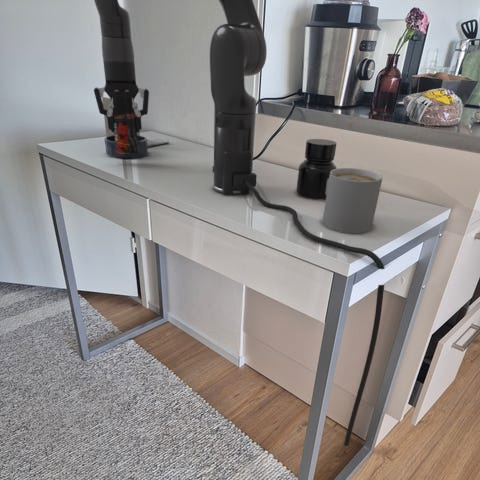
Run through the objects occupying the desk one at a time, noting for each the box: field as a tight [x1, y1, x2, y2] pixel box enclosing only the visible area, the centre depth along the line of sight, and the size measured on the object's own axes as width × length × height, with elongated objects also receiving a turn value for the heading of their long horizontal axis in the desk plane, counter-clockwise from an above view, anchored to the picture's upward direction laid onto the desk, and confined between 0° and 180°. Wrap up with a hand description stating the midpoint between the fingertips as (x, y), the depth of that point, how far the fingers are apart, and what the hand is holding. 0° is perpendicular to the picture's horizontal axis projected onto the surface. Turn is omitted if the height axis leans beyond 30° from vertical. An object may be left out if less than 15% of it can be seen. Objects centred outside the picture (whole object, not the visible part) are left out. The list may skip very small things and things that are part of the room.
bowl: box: [104, 135, 149, 159], centre depth 130 cm, size 12×12×4 cm
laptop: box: [101, 96, 170, 148], centre depth 143 cm, size 18×12×13 cm
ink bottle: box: [296, 138, 338, 200], centre depth 102 cm, size 10×9×12 cm
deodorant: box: [111, 91, 138, 154], centre depth 115 cm, size 6×6×15 cm
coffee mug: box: [321, 167, 383, 234], centre depth 87 cm, size 13×10×10 cm
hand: (125, 131), depth 117 cm, fingers closed on deodorant, 6 cm apart
